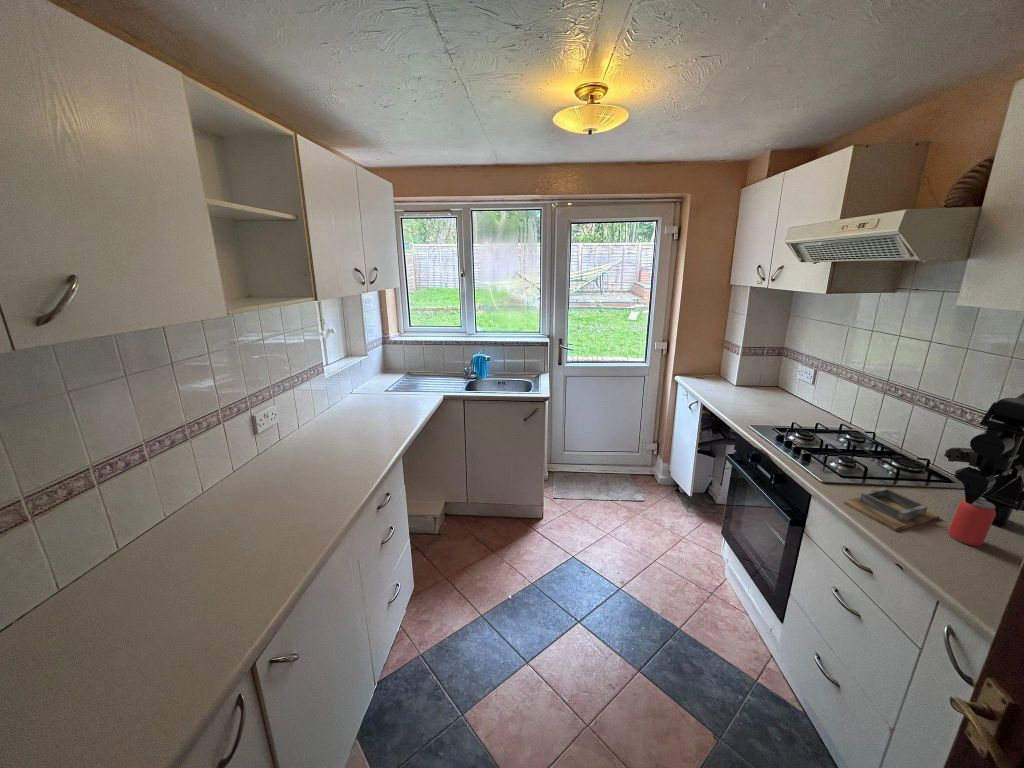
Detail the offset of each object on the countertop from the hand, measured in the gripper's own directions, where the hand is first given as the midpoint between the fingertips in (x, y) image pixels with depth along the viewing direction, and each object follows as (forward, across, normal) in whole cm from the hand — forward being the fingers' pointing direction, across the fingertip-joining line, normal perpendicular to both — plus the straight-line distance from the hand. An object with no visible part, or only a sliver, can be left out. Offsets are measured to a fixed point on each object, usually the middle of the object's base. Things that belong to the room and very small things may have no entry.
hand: (977, 499), depth 107 cm
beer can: (+13, 0, 0) cm, 13 cm away
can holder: (+13, +4, -15) cm, 20 cm away
